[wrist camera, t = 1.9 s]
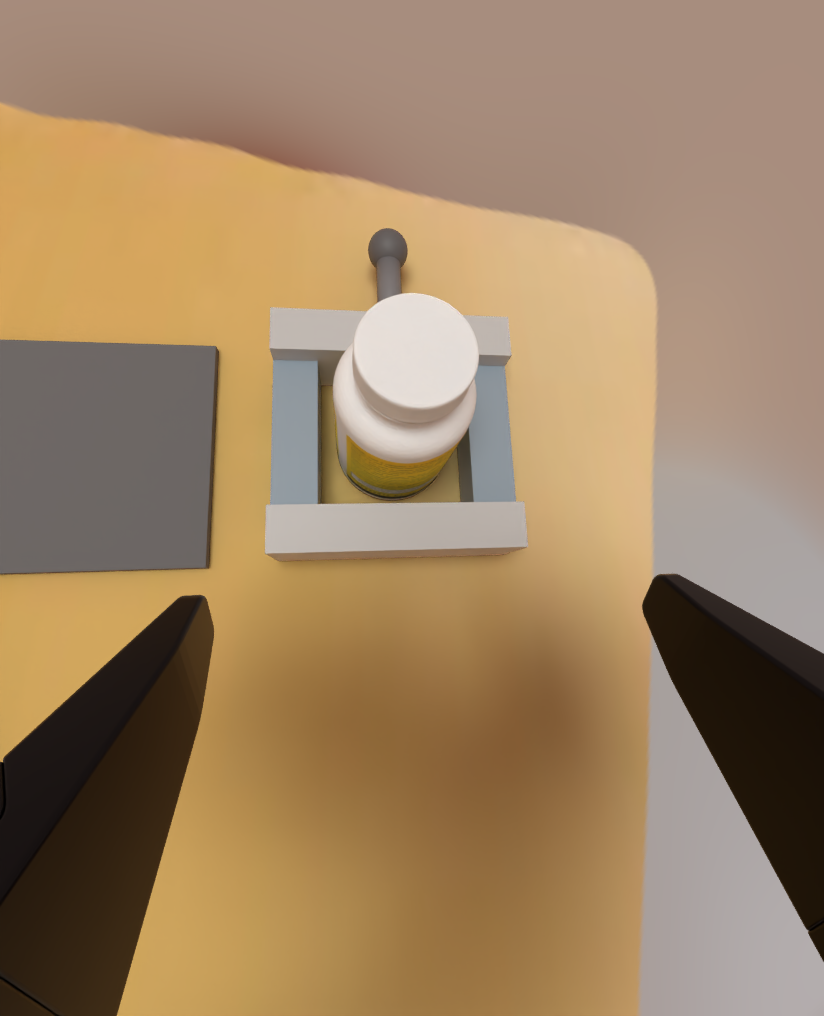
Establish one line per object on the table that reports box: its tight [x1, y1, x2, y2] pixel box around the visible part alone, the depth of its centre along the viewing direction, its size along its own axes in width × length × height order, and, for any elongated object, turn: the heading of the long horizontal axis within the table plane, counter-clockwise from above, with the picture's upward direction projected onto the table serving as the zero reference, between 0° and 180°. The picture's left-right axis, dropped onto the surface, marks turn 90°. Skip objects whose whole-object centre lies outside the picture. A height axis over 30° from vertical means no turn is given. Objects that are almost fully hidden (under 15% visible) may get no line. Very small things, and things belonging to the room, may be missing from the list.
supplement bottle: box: [333, 293, 479, 500], centre depth 19 cm, size 5×5×10 cm
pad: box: [0, 340, 219, 574], centre depth 22 cm, size 11×11×1 cm
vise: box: [265, 228, 528, 561], centre depth 23 cm, size 16×11×4 cm, turn 2°
